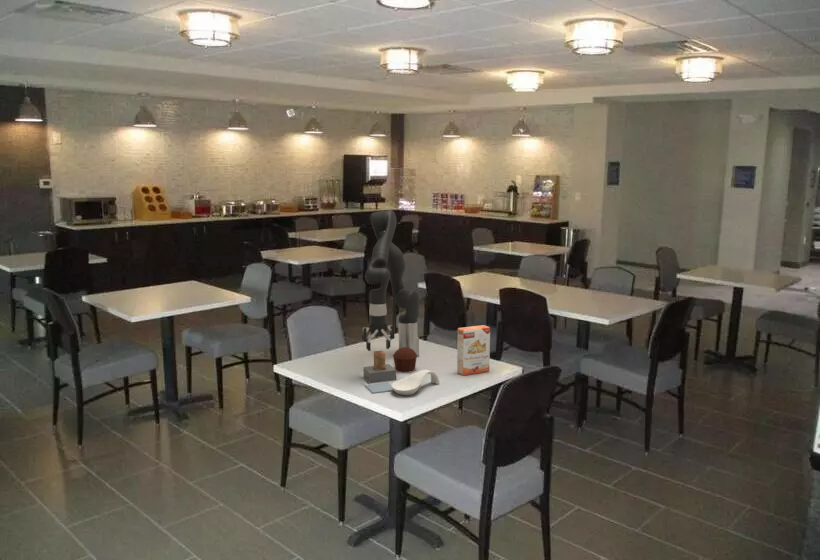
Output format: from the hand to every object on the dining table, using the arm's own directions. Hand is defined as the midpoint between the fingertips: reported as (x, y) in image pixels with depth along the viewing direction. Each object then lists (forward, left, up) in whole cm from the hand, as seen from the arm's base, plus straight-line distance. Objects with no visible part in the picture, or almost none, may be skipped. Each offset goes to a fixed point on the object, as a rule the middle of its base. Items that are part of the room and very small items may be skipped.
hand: (378, 349), depth 287 cm
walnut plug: (0, 0, -13) cm, 13 cm away
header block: (0, 0, -13) cm, 13 cm away
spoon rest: (-10, +20, -14) cm, 26 cm away
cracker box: (-42, +8, -13) cm, 45 cm away
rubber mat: (+4, +13, -13) cm, 19 cm away
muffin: (-15, -8, -13) cm, 22 cm away
